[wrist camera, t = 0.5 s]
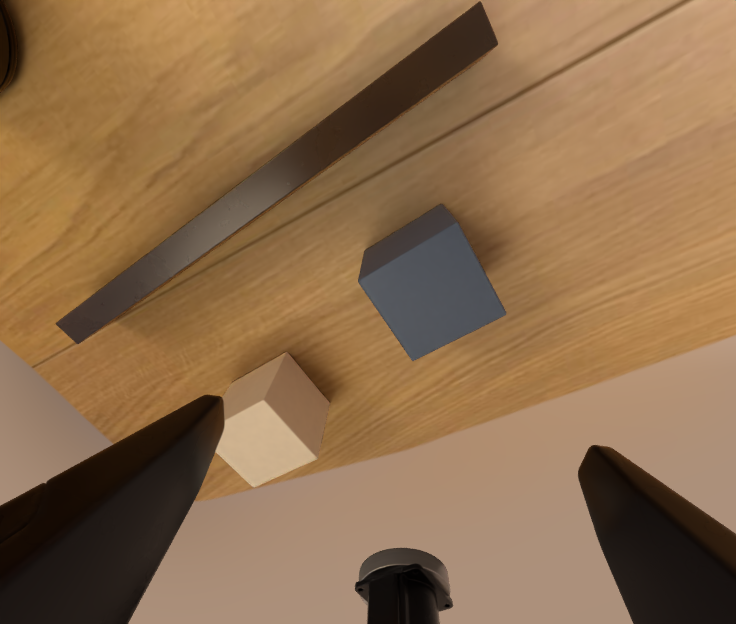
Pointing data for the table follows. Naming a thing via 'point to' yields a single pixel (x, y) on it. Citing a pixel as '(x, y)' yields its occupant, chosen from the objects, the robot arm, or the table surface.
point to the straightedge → (292, 168)
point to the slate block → (429, 283)
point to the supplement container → (7, 47)
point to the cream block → (272, 421)
